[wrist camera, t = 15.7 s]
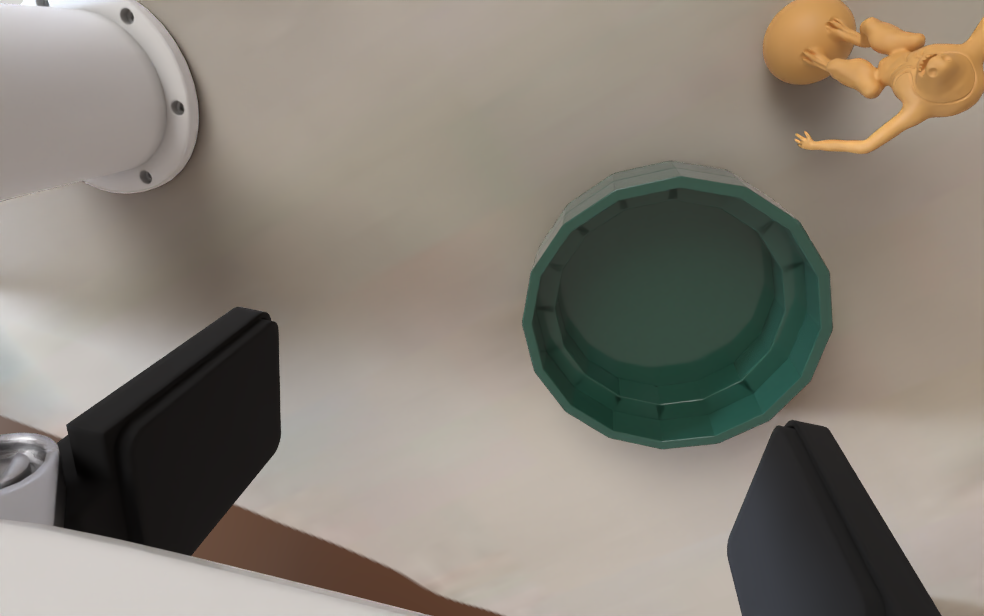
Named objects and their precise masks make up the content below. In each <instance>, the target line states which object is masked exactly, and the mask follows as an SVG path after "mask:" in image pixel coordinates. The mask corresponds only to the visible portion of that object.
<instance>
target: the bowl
mask: <svg viewBox="0 0 984 616" xmlns="http://www.w3.org/2000/svg"><path fill="white" fill-rule="evenodd" d="M522 326H523V330H524V334H525V337H526V341H527V345H528V349H529V353H530V357H531V361H532V364H533V368H534V371H535V373H536V374H537V376H538V377H539V378H540V380H541V381H542V382H543V383H544V385H545V386H546V387H547V389H548V390H549V391H550V392H551V394H552V395H553V396H554V398H555V399H556V400H557V401H558V403H559V404H560V405H561V407H562V408H563V409H564V410H565V411H566V412H567V413H569V414H570V415H572V416H574V417H575V418H577V419H579V420H580V421H582V422H584V423H585V424H587V425H588V426H590V427H592V428H593V429H595V430H597V431H598V432H600V433H602V434H603V435H605V436H607V437H608V438H612V439H616V440H621V441H626V442H630V443H635V444H640V445H644V446H649V447H654V448H658V449H671V448H680V447H690V446H700V445H710V444H717V443H721V442H723V441H725V440H727V439H729V438H732V437H734V436H736V435H738V434H741V433H743V432H745V431H747V430H750V429H752V428H754V427H756V426H759V425H761V424H763V423H765V422H767V421H769V420H771V419H772V418H773V417H774V416H775V415H776V414H777V413H778V412H779V411H780V410H781V409H782V408H783V407H784V406H785V405H786V404H787V403H788V402H789V401H790V400H792V399H793V398H794V397H795V396H796V395H797V394H798V393H799V392H800V391H801V390H802V389H803V388H804V387H805V386H806V385H807V384H808V383H809V382H810V381H811V379H812V377H813V374H814V372H815V370H816V367H817V365H818V363H819V360H820V358H821V356H822V353H823V351H824V349H825V346H826V344H827V342H828V339H829V337H830V335H831V332H832V328H833V323H832V304H831V285H830V273H829V270H828V268H827V267H826V265H825V263H824V262H823V260H822V258H821V257H820V255H819V253H818V252H817V250H816V248H815V246H814V245H813V243H812V241H811V240H810V238H809V236H808V235H807V233H806V231H805V230H804V228H803V226H802V225H801V223H800V222H799V221H798V220H797V219H796V218H795V217H794V216H792V215H791V214H790V213H789V212H788V211H787V210H785V209H784V208H783V207H782V206H781V205H780V204H778V203H777V202H776V201H775V200H774V199H772V198H770V197H769V196H767V195H766V194H764V193H763V192H761V191H760V190H758V189H757V188H755V187H754V186H752V185H750V184H749V183H747V182H746V181H744V180H743V179H741V178H740V177H738V176H737V175H735V174H734V173H732V172H731V171H728V170H725V169H719V168H713V167H707V166H701V165H695V164H689V163H683V162H677V161H666V162H662V163H657V164H653V165H648V166H644V167H639V168H635V169H630V170H626V171H622V172H617V173H614V174H612V175H610V176H609V177H607V178H606V179H604V180H603V181H601V182H600V183H598V184H597V185H595V186H594V187H592V188H591V189H590V190H588V191H587V192H585V193H584V194H582V195H581V196H579V197H578V198H576V199H575V200H573V201H572V202H570V203H569V204H568V205H567V206H566V207H565V209H564V210H563V212H562V213H561V215H560V216H559V218H558V219H557V221H556V222H555V224H554V225H553V227H552V228H551V230H550V231H549V233H548V234H547V236H546V237H545V239H544V240H543V242H542V243H541V245H540V246H539V249H538V252H537V255H536V258H535V261H534V264H533V267H532V271H531V274H530V280H529V285H528V291H527V297H526V303H525V308H524V314H523V320H522Z"/></svg>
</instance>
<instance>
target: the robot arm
mask: <svg viewBox="0 0 984 616" xmlns="http://www.w3.org/2000/svg"><path fill="white" fill-rule="evenodd" d="M198 126H199V112H198V100H197V95H196V90H195V85H194V81H193V79H192V76H191V73H190V70H189V68H188V65H187V62H186V60H185V59H184V57H183V55H182V53H181V51H180V49H179V47H178V45H177V44H176V42H175V41H174V39H173V38H172V37H171V35H170V34H169V33H168V31H167V30H166V28H165V27H164V26H163V24H162V23H161V22H160V21H159V20H158V19H157V18H156V17H155V16H154V15H153V14H152V13H151V12H150V11H149V10H148V9H147V8H145V7H144V6H142V5H141V4H140V3H138V2H137V1H136V0H24V1H23V2H22V4H21V5H18V4H6V3H0V201H4V200H8V199H12V198H16V197H20V196H24V195H28V194H32V193H36V192H40V191H44V190H48V189H52V188H56V187H60V186H64V185H68V184H72V183H76V182H81V181H82V182H84V183H87V184H89V185H91V186H93V187H95V188H98V189H101V190H105V191H108V192H112V193H123V194H131V193H139V192H144V191H148V190H151V189H154V188H157V187H160V186H161V185H163V184H165V183H167V182H169V181H171V180H172V179H173V178H174V177H175V176H176V175H177V174H178V173H179V172H180V171H182V169H183V168H184V166H185V165H186V163H187V162H188V160H189V158H190V157H191V154H192V151H193V149H194V146H195V143H196V139H197V133H198ZM66 426H67V431H68V435H67V436H66V437H65V438H63V439H62V440H60V441H59V442H58V443H56V442H54V441H53V440H52V439H51V438H49V437H46V436H43V435H40V434H35V433H13V434H3V435H0V616H430V615H426V614H422V613H418V612H415V611H410V610H406V609H403V608H398V607H394V606H391V605H387V604H383V603H379V602H375V601H370V600H367V599H362V598H359V597H354V596H351V595H347V594H343V593H339V592H335V591H331V590H326V589H322V588H318V587H314V586H310V585H306V584H302V583H298V582H294V581H290V580H286V579H281V578H277V577H274V576H270V575H265V574H261V573H258V572H253V571H249V570H245V569H241V568H237V567H233V566H229V565H225V564H221V563H217V562H213V561H209V560H205V559H200V558H196V557H192V556H191V555H192V554H193V553H194V551H195V550H196V549H197V548H198V547H199V545H200V544H201V543H202V542H203V540H204V539H205V538H206V537H207V536H208V534H209V533H210V532H211V531H212V529H213V528H214V527H215V526H216V525H217V523H218V522H219V521H220V519H221V518H222V517H223V516H224V515H225V513H226V512H227V511H228V510H229V509H230V507H231V506H232V505H233V504H234V502H235V501H236V500H237V499H238V498H239V496H240V495H241V494H242V493H243V491H244V490H245V489H246V488H247V487H248V485H249V484H250V483H251V482H252V480H253V479H254V478H255V477H256V475H257V474H258V473H259V472H260V471H261V469H262V468H263V467H264V466H265V464H266V463H267V462H268V461H269V460H270V458H271V457H272V456H273V455H274V453H275V452H276V450H277V448H278V445H279V442H280V438H281V420H280V376H279V332H278V325H277V323H276V322H274V321H271V318H270V315H269V314H268V313H267V312H262V311H257V310H253V309H248V308H243V307H236V308H233V309H232V310H231V311H229V312H228V313H226V314H225V315H223V316H222V317H220V318H219V319H218V320H216V321H215V322H213V323H212V324H210V325H209V326H208V327H206V328H205V329H203V330H202V331H200V332H199V333H197V334H196V335H195V336H193V337H192V338H190V339H189V340H187V341H186V342H185V343H183V344H182V345H180V346H179V347H177V348H176V349H174V350H173V351H172V352H170V353H169V354H167V355H166V356H164V357H163V358H162V359H160V360H159V361H157V362H156V363H154V364H153V365H151V366H150V367H149V368H147V369H146V370H144V371H143V372H141V373H140V374H139V375H137V376H136V377H134V378H133V379H131V380H130V381H128V382H127V383H126V384H124V385H123V386H121V387H120V388H118V389H117V390H116V391H114V392H113V393H111V394H110V395H108V396H107V397H106V398H104V399H103V400H101V401H100V402H98V403H97V404H95V405H94V406H93V407H91V408H90V409H88V410H87V411H85V412H84V413H83V414H81V415H80V416H78V417H77V418H75V419H74V420H72V421H71V422H70V423H68V424H67V425H66ZM727 556H728V561H729V565H730V569H731V573H732V577H733V581H734V585H735V589H736V593H737V597H738V601H739V605H740V609H741V613H742V616H941V614H940V612H939V611H938V609H937V607H936V606H935V604H934V602H933V601H932V599H931V598H930V596H929V594H928V593H927V591H926V589H925V588H924V586H923V584H922V583H921V581H920V579H919V578H918V576H917V574H916V573H915V571H914V569H913V568H912V566H911V564H910V563H909V561H908V559H907V558H906V556H905V554H904V553H903V551H902V549H901V548H900V546H899V545H898V543H897V541H896V540H895V538H894V536H893V535H892V533H891V531H890V530H889V528H888V526H887V525H886V523H885V521H884V520H883V518H882V516H881V515H880V513H879V511H878V510H877V508H876V506H875V505H874V503H873V501H872V500H871V498H870V496H869V495H868V493H867V492H866V490H865V488H864V487H863V485H862V483H861V482H860V480H859V478H858V477H857V475H856V473H855V472H854V470H853V468H852V467H851V465H850V463H849V462H848V460H847V458H846V457H845V455H844V453H843V452H842V450H841V448H840V447H839V445H838V443H837V442H836V440H835V439H834V437H833V435H832V434H831V432H830V430H829V429H828V428H827V427H824V426H819V425H814V424H809V423H804V422H799V421H795V420H791V421H788V423H787V424H786V425H785V426H784V427H783V426H776V428H775V429H774V430H773V432H772V434H771V437H770V439H769V442H768V444H767V446H766V449H765V451H764V454H763V456H762V458H761V461H760V463H759V466H758V468H757V471H756V473H755V475H754V478H753V480H752V483H751V485H750V487H749V490H748V492H747V495H746V497H745V500H744V502H743V504H742V507H741V509H740V512H739V514H738V516H737V519H736V521H735V524H734V526H733V529H732V531H731V533H730V536H729V539H728V545H727Z"/></svg>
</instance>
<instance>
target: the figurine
mask: <svg viewBox="0 0 984 616" xmlns="http://www.w3.org/2000/svg"><path fill="white" fill-rule="evenodd" d="M924 44H925V36H924V35H923V34H920V33H911V32H905V31H903V30H901V29H899V28H898V27H896V26H894V25H892V24H890V23H886V22H882V21H880V20H878V19H876V18H874V17H870V18H868V19H866V20H864V21H863V22H862V24H861V26H860V33H858V32H856V24H855V20H854V17H853V14H852V13H851V11H850V9H849V8H848V7H847V6H846V5H845V4H844V3H843V2H842V1H840V0H795V1H793V2H791V3H790V4H788V5H787V6H785V7H784V8H783V9H782V10H781V11H780V12H779V13H778V14H777V15H776V16H775V17H774V18H773V20H772V21H771V23H770V24H769V26H768V28H767V31H766V33H765V36H764V41H763V57H764V60H765V63H766V65H767V67H768V69H769V70H770V72H771V73H772V74H773V75H774V76H775V77H777V78H778V79H780V80H781V81H783V82H786V83H789V84H794V85H806V84H811V83H815V82H818V81H821V80H823V79H825V78H827V77H828V76H830V75H831V77H832V78H833V79H835V80H838V81H839V82H840V83H841V84H843V85H845V86H847V87H850V88H853V89H855V90H857V91H858V92H860V93H861V94H862V95H863V96H864V97H866V98H869V99H873V98H876V97H877V96H879V95H880V93H881V92H882V91H883V89H884V88H885V86H888V85H889V86H890V87H891V88H892V90H893V92H894V94H895V96H896V97H897V98H898V99H899V100H900V101H901V102H902V103H903V107H902V109H901V111H900V112H899V113H898V114H897V115H896V116H895V117H893V118H892V119H891V120H889V121H888V122H887V123H885V124H884V125H883V126H882V127H880V128H879V129H878V130H877V131H875V132H874V133H873V134H872V135H871V136H870V137H869V138H867V139H866V140H862V141H861V140H849V141H845V140H823V141H813V140H812V138H811V136H810V135H809V134H808V133H807V132H806V131H804V133H805V135H806V138H804V137H803V136H800V135H799V134H797V133H796V136H797V137H798V138H800V139H801V141H800V140H797V139H795V141H796V142H797V143H799V144H797V145H798V146H799V147H801V148H803V149H807V150H824V151H837V152H851V153H856V154H866V153H869V152H872V151H874V150H875V149H877V148H879V147H880V146H882V145H884V144H885V143H887V142H888V141H890V140H891V139H893V138H894V137H896V136H897V135H899V134H900V133H901V132H903V131H904V130H906V129H908V128H911V127H913V126H915V125H918V124H919V123H921V122H923V121H924V120H926V119H928V118H932V117H948V116H953V115H956V114H959V113H961V112H964V111H966V110H967V109H969V108H970V107H972V106H973V105H974V104H976V103H977V101H978V100H979V99H980V97H981V96H982V94H983V92H984V71H983V62H984V17H983V18H982V20H981V21H980V23H979V24H978V26H977V27H976V29H975V30H974V32H973V33H972V35H971V37H970V38H969V39H968V40H967V41H966V42H965V43H963V44H932V45H928V46H925V47H923V46H924ZM854 45H856V46H860V47H864V48H866V47H871V48H872V49H873V50H875V51H876V52H878V53H881V54H886V55H889V56H887V57H885V58H883V59H882V60H881V61H880V62H879V65H878V68H875V67H874V66H873V65H872V64H871V63H869V62H868V61H867V60H865V59H861V58H855V59H848V60H847V58H848V56H849V55H850V53H851V51H852V48H853V46H854ZM800 144H801V145H800Z"/></svg>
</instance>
